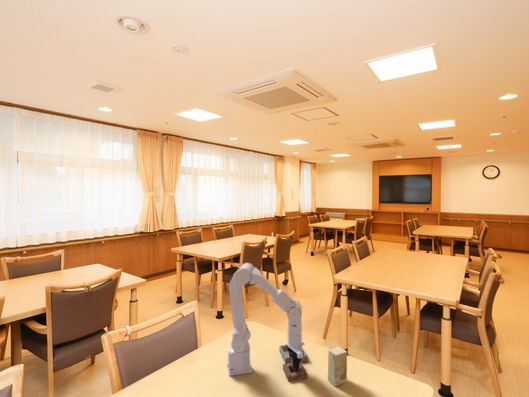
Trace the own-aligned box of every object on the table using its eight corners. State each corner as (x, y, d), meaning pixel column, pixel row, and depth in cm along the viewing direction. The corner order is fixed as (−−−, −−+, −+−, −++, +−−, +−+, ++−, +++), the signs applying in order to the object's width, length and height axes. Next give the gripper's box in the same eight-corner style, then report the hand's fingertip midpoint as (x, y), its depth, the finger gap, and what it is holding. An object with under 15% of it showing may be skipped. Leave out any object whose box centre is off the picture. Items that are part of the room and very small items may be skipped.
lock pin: (292, 376, 114) (292, 356, 114) (290, 371, 117) (290, 352, 117) (299, 375, 115) (299, 356, 115) (297, 370, 118) (297, 351, 118)
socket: (288, 381, 112) (288, 376, 111) (282, 368, 119) (282, 364, 119) (307, 378, 113) (307, 373, 113) (300, 366, 121) (300, 361, 121)
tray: (285, 363, 123) (285, 358, 123) (279, 350, 132) (279, 345, 132) (307, 360, 125) (307, 355, 125) (299, 348, 135) (299, 343, 134)
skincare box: (334, 387, 108) (334, 355, 108) (327, 380, 112) (327, 350, 112) (347, 381, 111) (347, 351, 111) (339, 375, 115) (339, 345, 114)
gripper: (310, 340, 109) (310, 375, 110) (298, 323, 124) (298, 354, 124) (292, 343, 108) (292, 377, 108) (282, 325, 122) (282, 356, 123)
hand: (294, 365), depth 116 cm, fingers closed on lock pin, 3 cm apart
